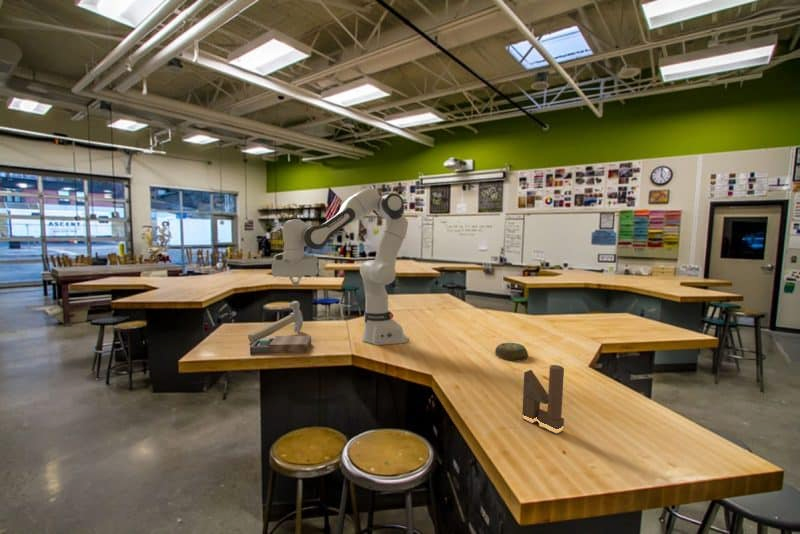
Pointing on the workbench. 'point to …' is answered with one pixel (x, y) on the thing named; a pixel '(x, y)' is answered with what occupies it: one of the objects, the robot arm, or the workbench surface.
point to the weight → (511, 351)
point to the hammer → (280, 324)
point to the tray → (259, 348)
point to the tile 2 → (264, 341)
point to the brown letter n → (544, 397)
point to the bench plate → (290, 344)
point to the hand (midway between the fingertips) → (295, 285)
